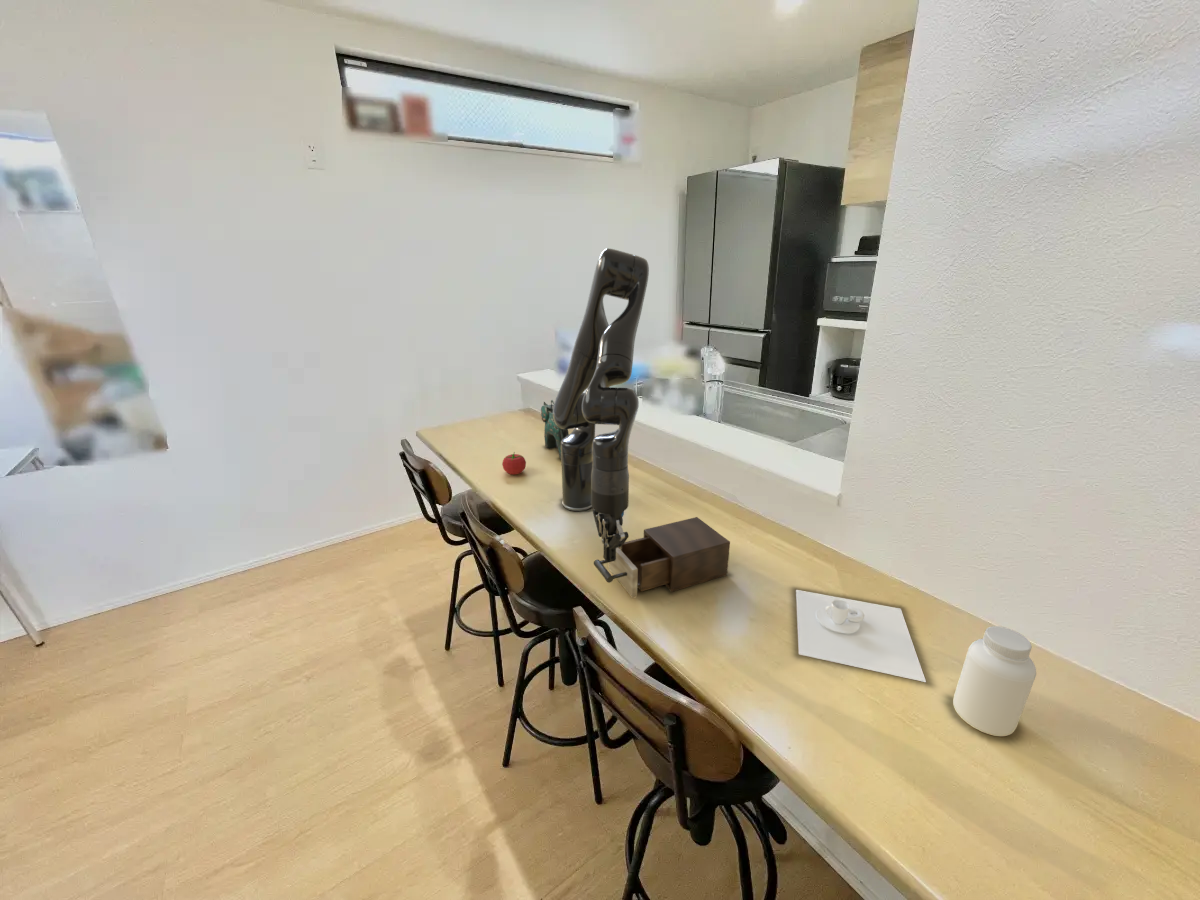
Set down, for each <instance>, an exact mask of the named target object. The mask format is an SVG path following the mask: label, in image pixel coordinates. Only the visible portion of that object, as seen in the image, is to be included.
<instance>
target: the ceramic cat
mask: <svg viewBox="0 0 1200 900" xmlns="http://www.w3.org/2000/svg"><path fill="white" fill-rule="evenodd" d="M554 402H555V401H554V400H553V399H551V400H550V404H548V403H546V402H545V401H543V405H542V406H541V407H540V420H541V421H542V422H543V423H544V430H543V431H544V434H543V436H544V438H543V439H544V447H545V448H547V449H554V448H557V446H556V442H557V445H558V449H557V451H558V457H559V460H560V461H561V441H562V439H563V438H565V437H566V436H568V435H569V434H570V433H569V429H561V428H559V427H558V426H557V425H556V424H555V422H554V418H553V406H554Z"/></svg>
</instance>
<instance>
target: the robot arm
mask: <svg viewBox="0 0 1200 900" xmlns="http://www.w3.org/2000/svg"><path fill="white" fill-rule="evenodd" d="M594 269H595V270H594V273H593V277H592V282H591V286H590V290H589V294H588V299H587V303H586V307H585V311H584V314H583V317H582V321H581V324H580V326H579V329H578V333H577V336H576V338H575V342H574V345H573V349H572V352H571V356H570V360H569V363H568V367H567V370H566V373H565V376H564V378H563V381H562V383H561V385H560V387H559V389H558V392H557V395H556V396H555V399H554V401H553V402H554V404H553V405H554V406H553V418H554V422H555V424H556V425H557V426H558V427H559V428H561V429H568V430H571V429H573V430H572V431H571V432H570V433H569V435H568V436H566V437H565V438H563V439H562V441H561V460H560V462H561V464H560V465H561V487H562V488H561V489H562V490H561V491H562V501H561V502H562V507H563V508H564V509H566V510H569V511H573V512H583V511H587V510H589V509H590V510H591V508H592V509H593V510H592V514H593V518H594V522H595V527H596V530H597V534H598V537H599V538H601V543H602V544H603V560H606V561H607V562H611V561H614V560H615V559H616V548H621V546H622V545H623V544H624V542H627V540H628V538H629V531H624V530H623V524H624V519H623V520H622V518H623V517H622V513H623V512H624V513H625V511H626V510H627V509H628V507H629V494H630V493H629V492H630V472H629V446H630V445H629V443H630V437H631V433H632V430H633V426H634V424H635V421H636V418H637V415H638V411H639V406H640V401H639V396H638V395H637V393H636V392H635V390H633V389H632V388H630V387H613V386H619V385H621V384H624V383H627V382H628V381H629V380H630V379H631V377H632V373H633V364H634V350H635V342H636V336H637V332H638V328H639V323H640V320H641V315H642V311H643V307H644V306H643V305H644V300H645V297H646V292H647V287H648V283H649V282H648V281H649V275H650V274H649V273H650V267H649V262H648V260H647V259H646V258H644V257H642V256H639V255H636V254H633V253H629V252H625V251H622V250H618V249H615V248H609V247H607V248H604V249H603V250H602V251H601V253H600V255H599V257H598V259H597V262H596V265H595V268H594ZM605 296H610V297H613V298H617V299H621V300H625V301H627V303H626V306H625V308H624V309H623V310H622V312H621V313H620V314H618V315H619V316H617V317H616V319H614V320H613V321H612V322H611V323H610V324H609V322H608V318H607V315H606V310H605V304H604V297H605ZM596 425H606V426H607V425H608V426H618V427H617V429H616V430H614V431H610V432H605V433H604V432H603V433H601V434H597V435H596ZM556 448H557V450H558V445H557V442H556Z"/></svg>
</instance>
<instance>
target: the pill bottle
mask: <svg viewBox="0 0 1200 900" xmlns="http://www.w3.org/2000/svg"><path fill="white" fill-rule="evenodd" d="M1032 647H1033V646H1032V643H1031V642H1030V640H1029V639H1028V638H1027V637H1026V636H1024V635H1023V634H1021V633H1020V632H1018V631H1016V630H1014V629H1011V628H1009V627H1005V626H999V625H992V626H988V627H987V628H986V629H985V630H984V634H983V638H978V639H976V640H974V641H973V642H972V643H971V644H970V645H969V647H968V649H967V651H966V656H965V659H964V662H963V665H962V669H961V672H960V674H959V678H958V681H957V685H956V688H955V690H954V691H955V692H954V695H953V700H952V704H953V708H954V710H955V712H956V714H957V715H958V716H959V717H960V718H961V720H963V721H964V722H965V723H967V724H968V725H969V726H970V727H972V728H973V729H976V730H977V731H980V732H982V733H984V734H987V735H991V736H994V737H1006V736H1010V735H1012V734H1013V733H1014V732H1015V731H1016V729H1017V727H1018V724H1019V722H1020V719H1021V716H1022V714H1023V711H1024V709H1025V706H1026V704H1027V700H1028V699H1029V696H1030V693H1031V690H1032V688H1033V685H1034V682H1035V680H1036V678H1037V677H1036V676H1037V668H1036V664H1035V663H1034V661H1033V659H1032V658H1031V657H1030V655H1031V654H1030V653H1031V651H1032V649H1033V648H1032Z"/></svg>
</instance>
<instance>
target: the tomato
mask: <svg viewBox="0 0 1200 900" xmlns="http://www.w3.org/2000/svg"><path fill="white" fill-rule="evenodd" d="M501 465H502V469H503V470H504V471H505V472H506V473H507V474H508V475H520V474H521V473H523V471H524V470H525V469H526V465H527V461H526V458H525V457H524V456H523V455H521V454H519V453H518V454H517V453H516V452H515V451H514V452H513V453H512V454H508V455H506V456H505V457H504V458H503V460H502V464H501Z"/></svg>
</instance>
